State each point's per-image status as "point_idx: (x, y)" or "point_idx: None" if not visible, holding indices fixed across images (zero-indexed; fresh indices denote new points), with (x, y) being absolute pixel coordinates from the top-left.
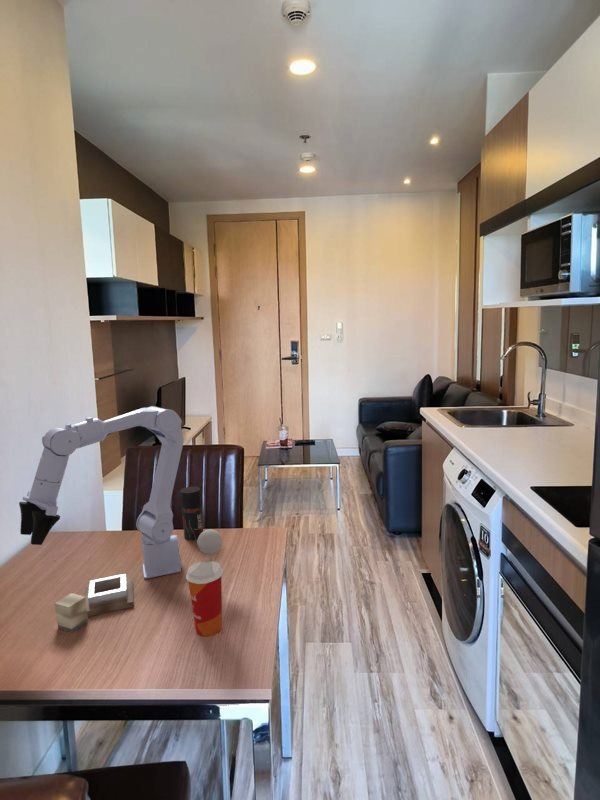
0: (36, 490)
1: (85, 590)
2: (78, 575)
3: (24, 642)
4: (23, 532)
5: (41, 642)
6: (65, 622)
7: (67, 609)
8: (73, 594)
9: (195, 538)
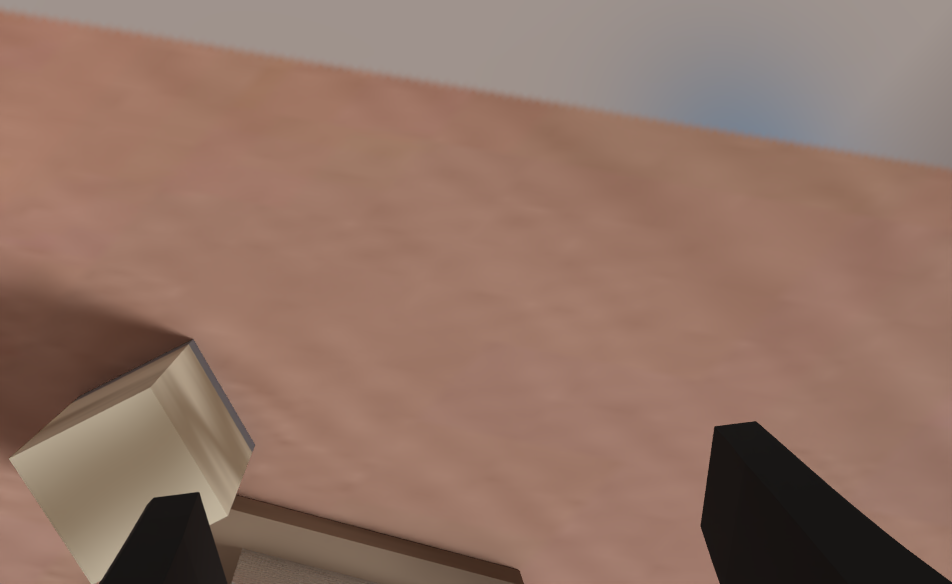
0: None
1: (482, 576)
2: None
3: (161, 140)
4: (724, 468)
5: (88, 224)
6: (109, 389)
7: (34, 441)
8: None
9: None
